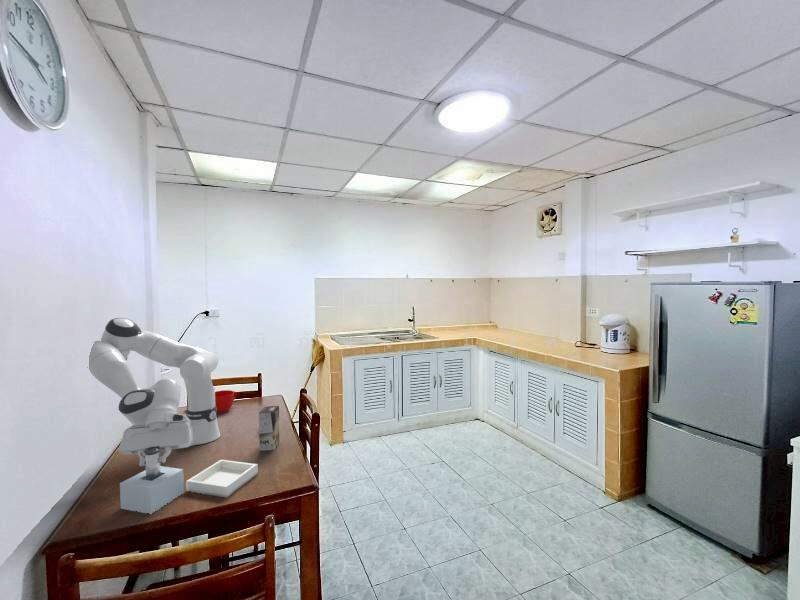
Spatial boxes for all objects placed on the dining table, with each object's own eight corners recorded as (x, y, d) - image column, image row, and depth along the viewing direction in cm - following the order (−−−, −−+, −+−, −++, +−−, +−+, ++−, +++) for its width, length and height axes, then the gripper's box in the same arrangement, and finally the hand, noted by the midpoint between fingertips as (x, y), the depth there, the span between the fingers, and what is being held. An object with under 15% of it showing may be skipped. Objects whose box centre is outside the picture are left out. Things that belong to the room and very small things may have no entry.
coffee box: (275, 450, 155) (274, 412, 155) (259, 451, 155) (258, 413, 154) (280, 441, 165) (279, 405, 164) (265, 442, 164) (264, 406, 163)
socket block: (120, 508, 115) (119, 483, 115) (155, 488, 127) (154, 465, 127) (151, 514, 112) (150, 488, 112) (184, 492, 124) (183, 469, 123)
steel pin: (142, 481, 118) (141, 450, 118) (154, 475, 122) (152, 445, 121) (152, 483, 117) (151, 452, 116) (164, 477, 121) (162, 446, 120)
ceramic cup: (245, 407, 214) (244, 389, 213) (220, 416, 198) (219, 397, 198) (228, 404, 219) (228, 387, 219) (203, 413, 204) (202, 395, 203)
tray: (186, 491, 125) (186, 481, 124) (221, 468, 140) (220, 459, 140) (226, 497, 120) (226, 487, 120) (257, 473, 136) (257, 464, 136)
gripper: (122, 422, 122) (110, 465, 113) (191, 415, 128) (185, 455, 119) (128, 431, 127) (117, 472, 118) (195, 423, 133) (189, 462, 124)
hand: (152, 463), depth 118 cm, fingers closed on steel pin, 4 cm apart
